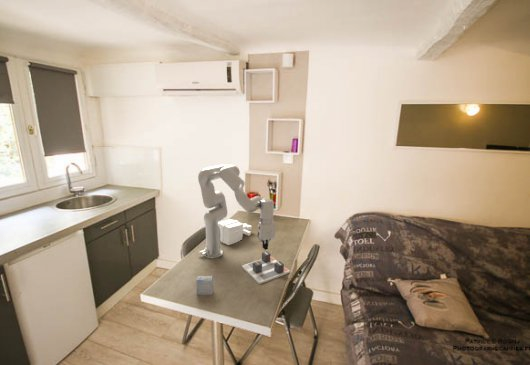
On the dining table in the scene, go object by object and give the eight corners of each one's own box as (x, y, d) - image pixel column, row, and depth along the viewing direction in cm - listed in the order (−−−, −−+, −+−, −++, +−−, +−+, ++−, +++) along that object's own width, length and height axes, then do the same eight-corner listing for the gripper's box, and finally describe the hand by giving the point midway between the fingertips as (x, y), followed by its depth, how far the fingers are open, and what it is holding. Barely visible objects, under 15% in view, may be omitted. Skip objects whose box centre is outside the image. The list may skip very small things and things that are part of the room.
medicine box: (213, 289, 134) (213, 275, 132) (211, 295, 130) (211, 280, 128) (198, 289, 134) (197, 275, 132) (196, 295, 129) (195, 280, 127)
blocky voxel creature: (258, 239, 198) (232, 249, 177) (237, 230, 214) (210, 238, 193) (260, 221, 196) (233, 229, 174) (238, 213, 211) (211, 219, 190)
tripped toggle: (256, 273, 147) (256, 265, 146) (252, 270, 151) (252, 262, 149) (261, 271, 149) (262, 263, 148) (258, 268, 153) (258, 260, 152)
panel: (259, 284, 140) (259, 274, 138) (241, 267, 156) (242, 257, 154) (289, 272, 152) (290, 263, 150) (270, 257, 168) (271, 249, 166)
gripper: (259, 224, 139) (257, 254, 143) (280, 220, 147) (278, 248, 151) (252, 220, 145) (251, 248, 149) (273, 215, 153) (271, 243, 157)
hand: (265, 248), depth 150 cm, fingers closed
